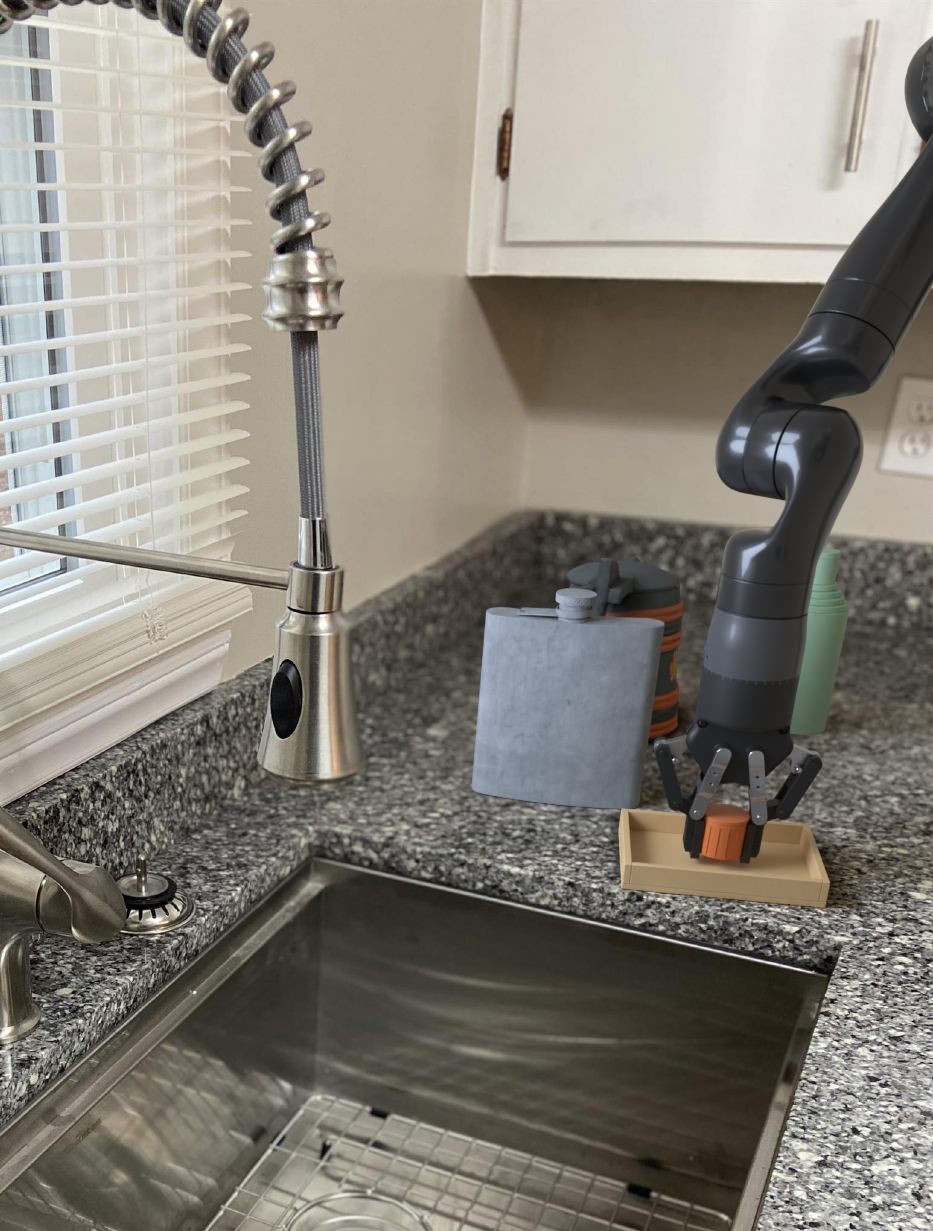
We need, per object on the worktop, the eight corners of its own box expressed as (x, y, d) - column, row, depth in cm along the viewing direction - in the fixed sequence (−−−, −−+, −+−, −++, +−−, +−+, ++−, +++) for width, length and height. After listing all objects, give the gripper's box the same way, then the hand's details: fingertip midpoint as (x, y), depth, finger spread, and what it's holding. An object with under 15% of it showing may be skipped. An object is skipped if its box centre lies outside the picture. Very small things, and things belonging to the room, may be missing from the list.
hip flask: (639, 798, 135) (668, 591, 126) (638, 814, 132) (668, 603, 123) (473, 781, 139) (490, 579, 130) (468, 796, 136) (485, 589, 127)
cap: (705, 861, 119) (712, 823, 117) (687, 840, 123) (694, 803, 121) (750, 859, 119) (758, 822, 118) (732, 839, 123) (739, 802, 121)
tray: (804, 847, 126) (809, 823, 125) (825, 908, 115) (830, 882, 114) (618, 831, 128) (621, 808, 127) (621, 888, 118) (624, 863, 117)
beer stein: (662, 768, 143) (691, 570, 134) (518, 748, 147) (537, 556, 138) (683, 711, 159) (711, 531, 149) (553, 695, 163) (572, 519, 154)
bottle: (819, 727, 154) (855, 545, 145) (827, 746, 149) (865, 559, 140) (758, 722, 155) (790, 542, 147) (763, 741, 150) (797, 555, 141)
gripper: (663, 671, 111) (635, 868, 119) (852, 683, 109) (811, 884, 117) (658, 644, 118) (632, 833, 126) (837, 655, 115) (799, 847, 123)
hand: (719, 856), depth 121 cm, fingers closed on cap, 3 cm apart
